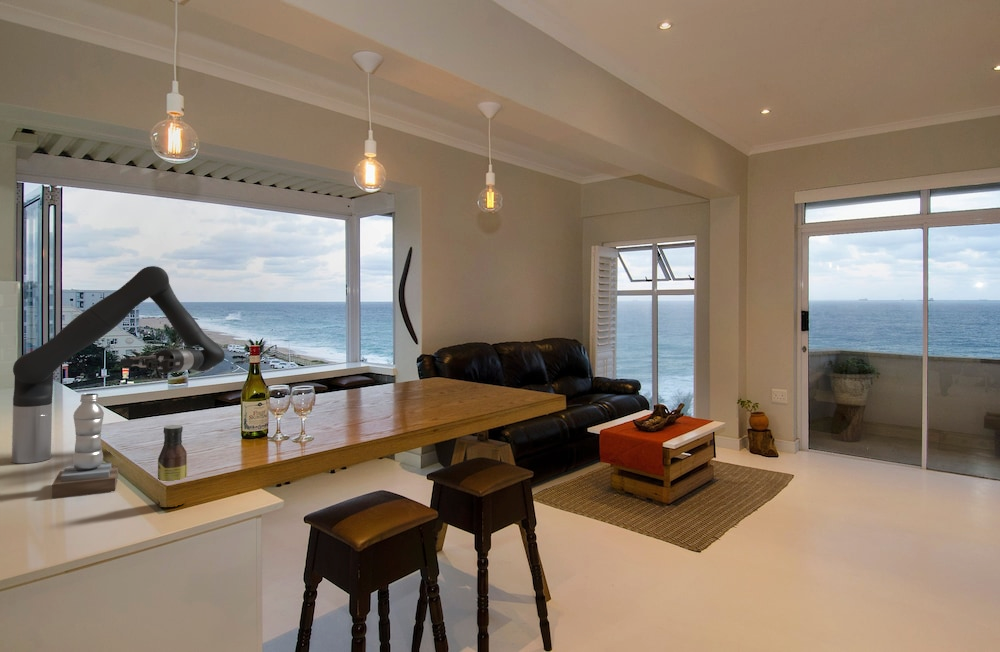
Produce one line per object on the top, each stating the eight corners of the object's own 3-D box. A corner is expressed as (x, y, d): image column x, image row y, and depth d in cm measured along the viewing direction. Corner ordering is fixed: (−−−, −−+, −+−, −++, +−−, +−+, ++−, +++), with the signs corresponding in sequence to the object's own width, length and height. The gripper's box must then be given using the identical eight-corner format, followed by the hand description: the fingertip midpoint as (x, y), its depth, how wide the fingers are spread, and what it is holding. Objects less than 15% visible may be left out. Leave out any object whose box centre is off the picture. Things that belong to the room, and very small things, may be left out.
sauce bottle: (165, 500, 139) (167, 422, 139) (191, 500, 140) (193, 423, 140) (151, 509, 133) (153, 428, 133) (178, 510, 133) (180, 428, 133)
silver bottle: (108, 467, 149) (110, 393, 149) (82, 473, 143) (84, 397, 142) (92, 464, 151) (94, 392, 151) (65, 470, 145) (67, 395, 144)
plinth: (59, 484, 149) (60, 465, 149) (117, 478, 156) (118, 460, 155) (51, 498, 138) (52, 478, 138) (114, 491, 145) (115, 472, 144)
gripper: (155, 347, 178) (113, 349, 162) (195, 350, 176) (156, 352, 160) (154, 370, 178) (112, 374, 162) (193, 373, 176) (155, 378, 160)
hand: (134, 363), depth 161 cm, fingers open, 8 cm apart
